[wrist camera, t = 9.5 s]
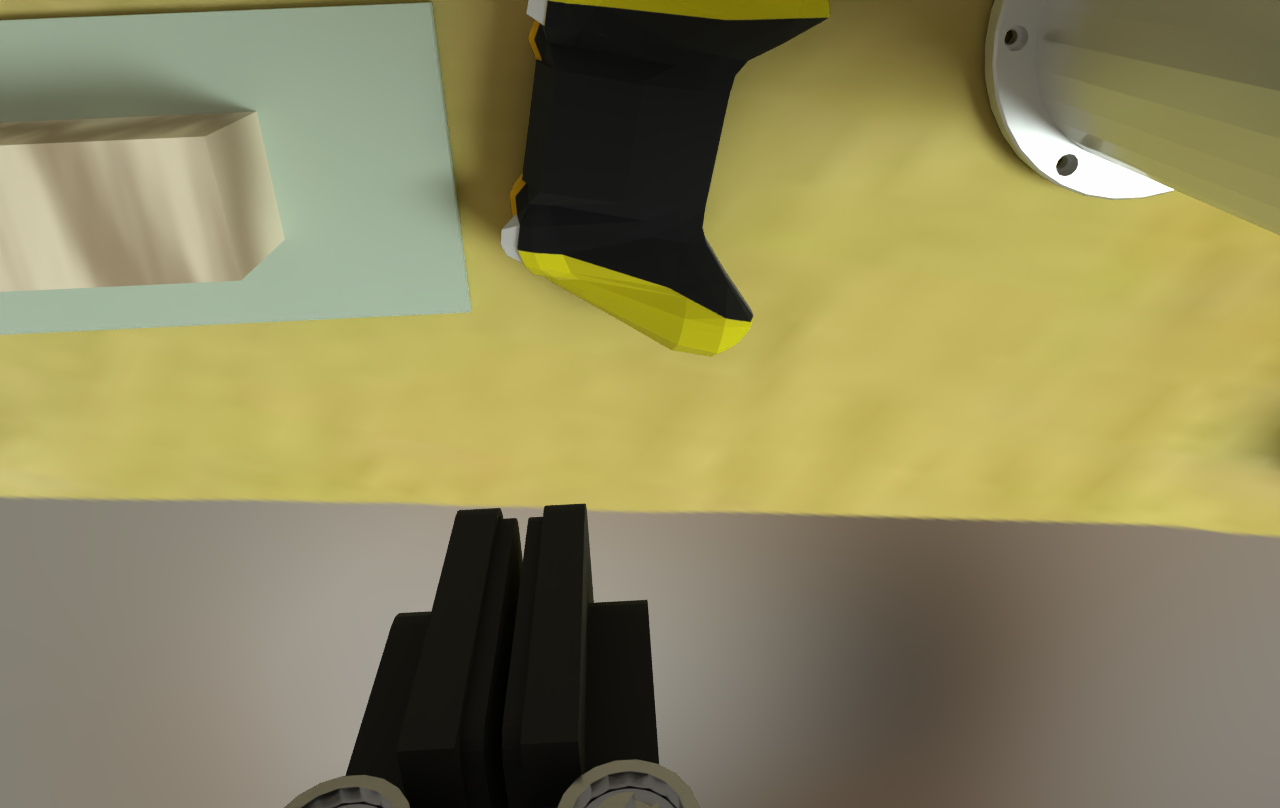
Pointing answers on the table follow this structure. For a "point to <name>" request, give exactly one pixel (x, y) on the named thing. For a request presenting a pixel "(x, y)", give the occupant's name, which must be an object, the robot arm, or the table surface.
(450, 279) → the sage mat
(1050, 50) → the robot arm
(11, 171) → the birch pillar
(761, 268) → the table surface
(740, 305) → the gaming controller
